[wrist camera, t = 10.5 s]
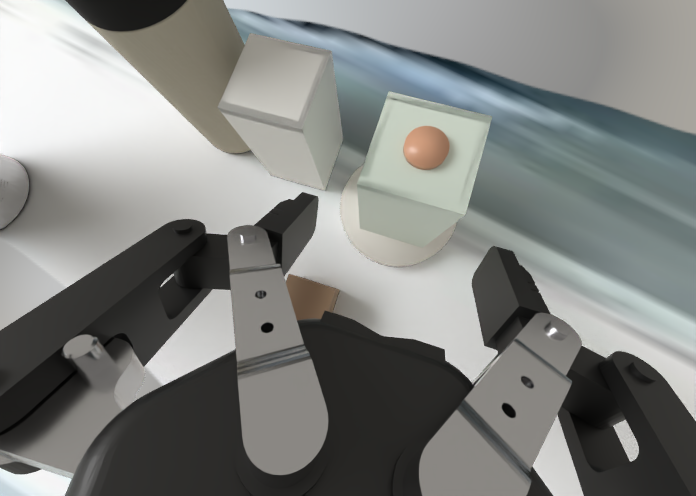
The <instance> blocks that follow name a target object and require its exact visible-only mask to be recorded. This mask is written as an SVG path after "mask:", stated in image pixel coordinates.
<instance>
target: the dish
mask: <svg viewBox="0 0 696 496" xmlns="http://www.w3.org/2000/svg"><path fill="white" fill-rule="evenodd" d="M363 165H364V164H363ZM363 165H362V166H361V167H359V168H358V169H357V170H356V171H355V172H354V173H353V174H352V176H351V177H350V178H349V180H348V182H347V183H346V185H345V188H344V190H343V193H342V197H341V202H340V215H341V221H342V224H343V228H344V231H345V233H346V235H347V237H348V239H349V240H350V242H351V244H352V245H353V246H354V247H355V248H356V249H357V250H358V251H359V252H360V253H361V254H362V255H364V256H365V257H366V258H368V259H370V260H372V261H374V262H376V263H379V264H382V265H386V266H393V267H404V266H410V265H414V264H418V263H420V262H422V261H425V260H427V259H428V258H430V257H432V256H433V255H435V254H436V253H437V252H439V251H440V250H441V249H442V248H443V247H444V246H445V245H446V244H447V242H448V241H449V239H450V238H451V236H452V234H453V232H454V230H455V227H456V224H457V222H456V223H454V224H453V225H452V226H451V227H449V228H448V229H447V230H445V231H444V232H443V233H441V234H440V235H439V236H437V237H436V238H435V239H434V240H432V241H431V242H430V243H428V244H427V245H426V246H424V247H423V248H421V247H418V246H415V245H412V244H408V243H405V242H402V241H399V240H395V239H392V238H389V237H386V236H383V235H379V234H376V233H373V232H370V231H366V230H363V229H360V224H359V207H358V191H357V182H358V179H359V177H360V174H361V171H362V168H363Z"/></svg>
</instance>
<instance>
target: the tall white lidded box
mask: <svg viewBox="0 0 696 496" xmlns="http://www.w3.org/2000/svg"><path fill="white" fill-rule="evenodd" d="M217 108H218V109H219V110H220V111H221V113H222V114H223V115H224V116H225V118H226V119H227V120H228V122H229V123H230V124H231V125H232V127H233V128H234V129H235V130H236V132H237V133H238V134H239V135H240V137H241V138H242V139H243V141H244V142H245V143H246V144H247V146H248V147H249V148H250V149H251V151H252V152H253V153H254V154H255V156H256V157H257V158H258V160H259V161H260V162H261V163H262V165H263V166H264V167H265V168H266V170H267V171H268V172H269V173H270V175H271V176H275V177H278V178H282V179H285V180H289V181H292V182H296V183H299V184H303V185H306V186H310V187H313V188H317V189H320V190H324V191H325V190H326V187H327V184H328V181H329V179H330V176H331V173H332V170H333V167H334V164H335V161H336V159H337V156H338V153H339V150H340V147H341V144H342V141H343V133H342V125H341V118H340V110H339V103H338V95H337V88H336V80H335V73H334V65H333V58H332V51H329V50H325V49H320V48H316V47H311V46H306V45H302V44H297V43H293V42H288V41H284V40H279V39H275V38H270V37H266V36H261V35H256V34H252V33H250V35H249V37H248V39H247V41H246V44H245V46H244V48H243V51H242V53H241V55H240V57H239V60H238V62H237V64H236V66H235V69H234V71H233V73H232V75H231V78H230V80H229V82H228V85H227V87H226V89H225V91H224V94H223V96H222V98H221V100H220V103H219V105H218V107H217Z"/></svg>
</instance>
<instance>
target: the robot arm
mask: <svg viewBox="0 0 696 496" xmlns="http://www.w3.org/2000/svg"><path fill="white" fill-rule="evenodd" d="M28 191H29V179H28V174H27V172H26V170H25V168H24V167H23V166H22V165H21V164H20V163H19V162H18V161H16V160H15V159H13V158H10V157H8V156H5V155H2V154H0V229H2V228H4V227H5V226H7V225H8V224H9V223H10V222H12V221H13V219H14V218H15V217H16V216H17V215H18V214H19V212H20V211H21V209H22V208H23V206H24V204H25V201H26V199H27V196H28ZM317 210H318V196H314V195H311V194H307V193H304V192H302V193H301V194H300V195H299V196H298V197H297V198H295V199H294V200H291V199H288V200H286V201H283V202H280V203H279V204H278V205H277V206H276V207H274V209H272V210H271V211H270V212H269V213H268V214H266V215H265V216H264V217H263V218H262V219H261V220H260V221H259V222H257V223H256V224H255V225H254V226H252V225H245V226H239V227H236V228H234V229H232V230H231V231H230V232H229V233H228V235H219V234H207V233H206V229H205V225H204V224H203V223H201V222H199V221H197V220H191V219H182V220H176V221H172V222H169V223H167V224H165V225H164V226H162V227H161V228H159V229H158V230H156V231H154V232H153V233H151V234H150V235H148V236H147V237H145V238H144V239H142V240H140V241H139V242H137V243H136V244H134V245H133V246H131V247H130V248H128V249H126V250H125V251H123V252H122V253H120V254H119V255H117V256H116V257H114V258H112V259H111V260H109V261H108V262H106V263H105V264H103V265H102V266H100V267H98V268H97V269H95V270H94V271H92V272H91V273H89V274H88V275H86V276H84V277H83V278H81V279H80V280H78V281H77V282H75V283H74V284H72V285H71V286H69V287H67V288H66V289H64V290H63V291H61V292H60V293H58V294H57V295H55V296H53V297H52V298H50V299H49V300H47V301H46V302H44V303H43V304H41V305H39V306H38V307H37V308H35V309H33V310H32V311H30V312H29V313H27V314H25V315H24V316H22V317H21V318H19V319H18V320H16V321H15V322H13V323H11V324H10V325H8V326H7V327H5V328H4V329H2V330H1V331H0V468H2V469H4V470H6V471H9V472H11V473H14V474H28V473H32V472H36V471H38V470H41V469H43V470H46V471H49V472H52V473H55V474H58V475H62V476H65V477H68V478H71V479H72V480H71V482H70V485H69V487H68V490H67V492H66V494H65V496H553V495H552V493H551V492H550V491H549V489H548V488H547V486H546V485H545V484H544V482H543V481H542V480H541V478H540V477H539V475H538V474H537V473H536V471H535V470H534V468H533V467H532V465H533V463H534V461H535V459H536V457H537V455H538V453H539V451H540V449H541V447H542V445H543V443H544V441H545V438H546V436H547V434H548V432H549V430H550V428H551V426H552V424H553V422H554V420H555V418H556V416H557V414H558V417H559V420H560V423H561V427H562V430H563V433H564V436H565V439H566V442H567V445H568V448H569V451H570V454H571V457H572V460H573V463H574V466H575V469H576V473H577V476H578V479H579V482H580V485H581V488H582V491H583V494H584V496H696V421H695V420H694V419H693V417H692V416H691V414H690V413H689V412H688V410H687V409H686V407H685V406H684V405H683V403H682V402H681V400H680V399H679V398H678V396H677V395H676V394H675V392H674V391H673V389H672V388H671V387H670V385H669V384H668V382H667V381H666V380H665V379H664V378H663V377H662V375H661V374H660V373H658V372H657V371H656V370H655V369H654V368H653V367H651V366H650V365H649V364H647V363H646V362H644V361H643V360H641V359H639V358H638V357H636V356H634V355H632V354H629V353H626V352H622V351H617V352H614V353H613V354H611V355H610V356H608V357H607V358H604V357H602V356H601V355H599V354H597V353H595V352H593V351H591V350H589V349H587V348H585V347H583V346H581V345H582V342H581V339H580V337H579V335H578V334H577V333H576V332H575V330H574V329H573V328H572V327H571V326H569V325H568V324H567V323H566V322H564V321H563V320H561V319H559V318H557V317H556V316H553V315H551V314H550V312H549V310H548V308H547V306H546V304H545V302H544V300H543V298H542V296H541V294H540V293H538V292H539V290H538V288H537V286H536V285H535V282H534V280H533V279H532V277H531V275H530V274H529V273H528V272H527V271H526V270H525V269H524V268H523V266H521V265H519V263H518V261H517V259H516V256H515V254H514V252H513V251H510V250H506V249H503V248H499V247H495V246H493V247H492V248H490V250H489V251H488V253H487V254H486V256H485V257H484V259H483V261H482V262H481V264H480V265H479V267H478V268H477V270H476V272H475V273H474V276H473V279H472V288H473V293H474V298H475V303H476V307H477V312H478V317H479V322H480V327H481V332H482V336H483V341H484V346H487V347H490V348H493V349H496V350H498V354H497V355H496V356H495V357H494V359H493V360H492V361H491V362H490V363H489V364H488V365H487V367H486V368H485V369H484V370H483V371H482V372H481V373H480V374H479V376H478V377H477V378H476V379H475V380H474V381H473V382H472V383H471V381H470V380H469V379H468V378H467V377H466V376H465V375H464V374H463V373H462V372H461V371H459V370H458V369H457V368H456V367H454V366H453V365H451V364H450V363H449V362H447V361H445V349H442V348H439V347H436V346H432V345H429V344H426V343H423V342H420V341H417V340H414V339H404V338H394V337H384V336H381V335H379V334H377V333H375V332H374V331H372V330H370V329H368V328H367V327H365V326H363V325H362V324H360V323H358V322H356V321H355V320H353V319H350V318H347V317H344V316H341V315H338V314H335V313H331V312H328V311H324V313H323V315H322V318H321V319H317V318H313V319H302V320H297V319H296V316H295V312H294V309H293V306H292V302H291V299H290V296H289V292H288V289H287V286H286V282H285V279H284V276H285V274H286V273H287V272H288V270H289V269H290V267H291V266H292V265H293V263H294V262H295V260H296V259H297V257H298V256H299V255H300V253H301V252H302V250H303V249H304V247H305V246H306V245H307V243H308V242H309V240H310V239H311V237H312V236H313V233H314V231H315V227H316V219H317ZM171 274H174V276H173V277H172V278H171V279H170V280H169V281H167V282H166V283H165V284H164V285H163V286H162V287H161V288H160V286H161V284H162V283H163V282H164V281H165V280H166V279H167V278H168V277H169V276H170V275H171ZM212 289H225V290H231V297H232V309H233V321H234V333H235V345H236V350H234V351H232V352H230V353H228V354H226V355H224V356H222V357H220V358H218V359H216V360H214V361H212V362H210V363H208V364H206V365H204V366H202V367H200V368H198V369H196V370H194V371H192V372H190V373H188V374H186V375H184V376H182V377H180V378H178V379H176V380H174V381H172V382H170V383H168V384H166V385H164V386H162V387H160V388H158V389H156V390H154V391H152V392H150V393H148V394H146V395H144V396H143V397H141V398H139V399H137V400H136V401H134V400H135V398H136V394H137V393H138V391H139V390H140V388H141V387H142V385H143V382H144V379H145V370H144V366H145V365H146V364H147V363H148V362H149V360H150V359H151V358H152V357H153V356H154V355H155V354H156V353H157V351H158V350H159V349H160V348H161V347H162V346H163V345H164V344H165V342H166V341H167V340H168V339H169V338H170V337H171V336H172V334H173V333H174V332H175V331H176V330H177V329H178V328H179V327H180V325H181V324H182V323H183V322H184V321H185V320H186V319H187V318H188V316H189V315H190V314H191V313H192V312H193V311H194V310H195V309H196V307H197V306H198V305H199V304H200V303H201V302H202V301H203V299H204V298H205V297H206V296H207V295H208V294H209V293H210V292H211V290H212ZM133 401H134V402H133ZM625 419H626V421H627V423H628V425H629V426H630V428H631V430H632V432H633V434H634V436H635V438H636V440H637V442H638V445H639V454H638V457H637V458H636V459H635V460H634V461H632V462H630V461H629V459H628V457H627V455H626V453H625V451H624V448H623V446H622V444H621V442H620V440H619V438H618V436H617V434H616V432H615V429H614V427H613V425H615V424H617V423H619V422H621V421H623V420H625Z"/></svg>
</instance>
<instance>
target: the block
mask: <svg viewBox="0 0 696 496" xmlns="http://www.w3.org/2000/svg"><path fill="white" fill-rule="evenodd" d="M286 286H287V289H288V292H289V296H290V299H291V302H292V306H293V309H294V312H295V316H296V319H297V320H302V319H313V318H317V319H321V318H322V315H323V313H324V311H328V312H331V313H332V312H333V309H334V306H335V303H336V300H337V296H338V293H339V289H336V288H333V287H330V286H326V285H323V284H320V283H317V282H314V281H311V280H308V279H305V278H302V277H299V276H295V275H291V274H289V275H288V278H287V281H286Z"/></svg>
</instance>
